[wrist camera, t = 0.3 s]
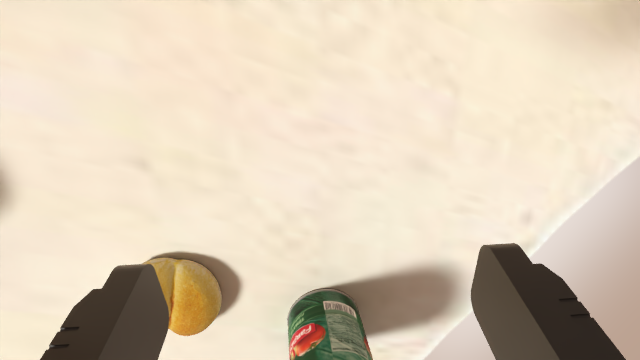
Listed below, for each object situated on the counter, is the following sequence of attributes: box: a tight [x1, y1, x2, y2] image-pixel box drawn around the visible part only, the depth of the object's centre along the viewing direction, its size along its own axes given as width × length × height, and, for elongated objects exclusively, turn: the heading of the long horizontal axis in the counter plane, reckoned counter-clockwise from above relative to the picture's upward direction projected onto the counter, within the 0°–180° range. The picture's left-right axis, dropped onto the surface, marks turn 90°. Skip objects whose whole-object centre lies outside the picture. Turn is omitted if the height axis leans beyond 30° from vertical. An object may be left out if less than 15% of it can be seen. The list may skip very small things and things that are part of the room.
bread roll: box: [143, 258, 222, 336], centre depth 38 cm, size 8×9×4 cm
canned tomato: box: [287, 289, 373, 360], centre depth 38 cm, size 8×8×11 cm
